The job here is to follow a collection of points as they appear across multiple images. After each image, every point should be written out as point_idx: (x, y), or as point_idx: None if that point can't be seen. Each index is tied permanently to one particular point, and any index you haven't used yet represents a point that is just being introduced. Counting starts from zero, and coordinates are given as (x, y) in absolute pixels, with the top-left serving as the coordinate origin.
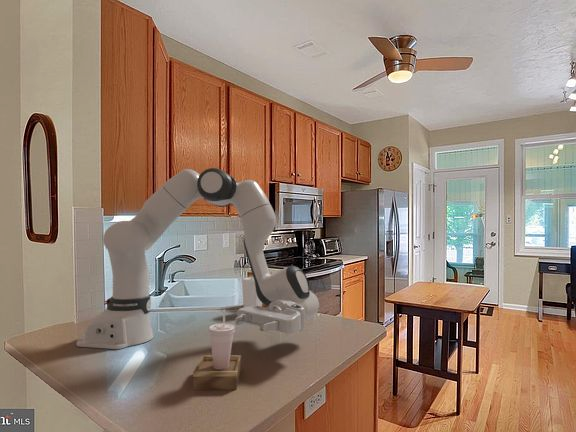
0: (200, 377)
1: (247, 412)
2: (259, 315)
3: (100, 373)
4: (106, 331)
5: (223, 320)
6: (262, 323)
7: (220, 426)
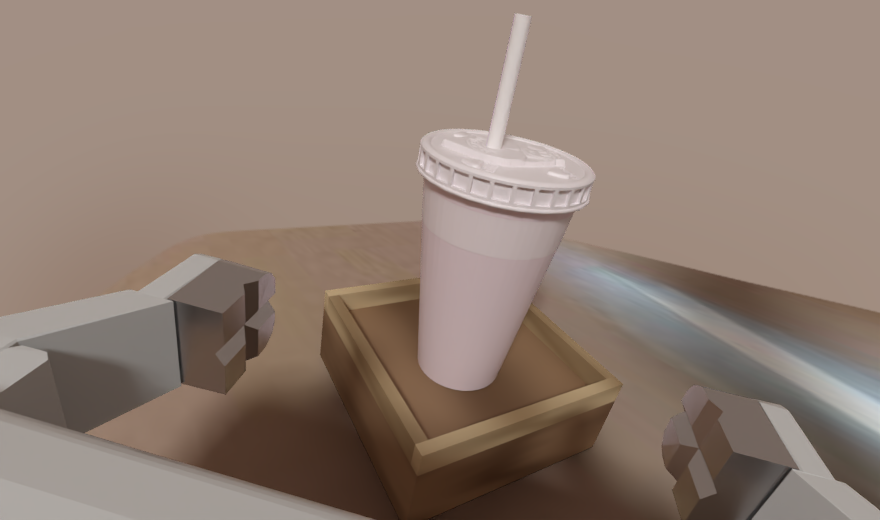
0: None
1: None
2: None
3: (815, 337)
4: None
5: (501, 97)
6: (245, 283)
7: (278, 230)
